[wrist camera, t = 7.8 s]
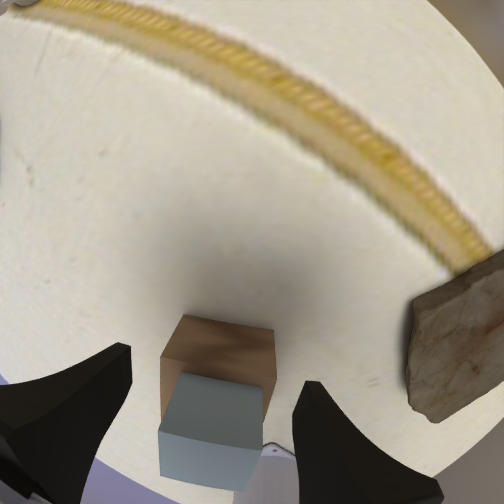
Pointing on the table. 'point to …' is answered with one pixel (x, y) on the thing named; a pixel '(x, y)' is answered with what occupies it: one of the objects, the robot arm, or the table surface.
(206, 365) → the wood grain block
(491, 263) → the flat brown rock
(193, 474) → the slate cube
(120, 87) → the table surface
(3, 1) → the flag stand
